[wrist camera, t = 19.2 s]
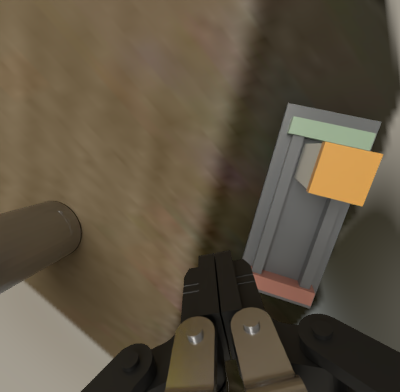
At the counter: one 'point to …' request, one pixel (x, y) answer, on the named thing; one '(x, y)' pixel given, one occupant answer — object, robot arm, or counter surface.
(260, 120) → the counter surface
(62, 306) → the counter surface
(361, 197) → the orange-capped white pillar
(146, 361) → the robot arm
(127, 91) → the counter surface
